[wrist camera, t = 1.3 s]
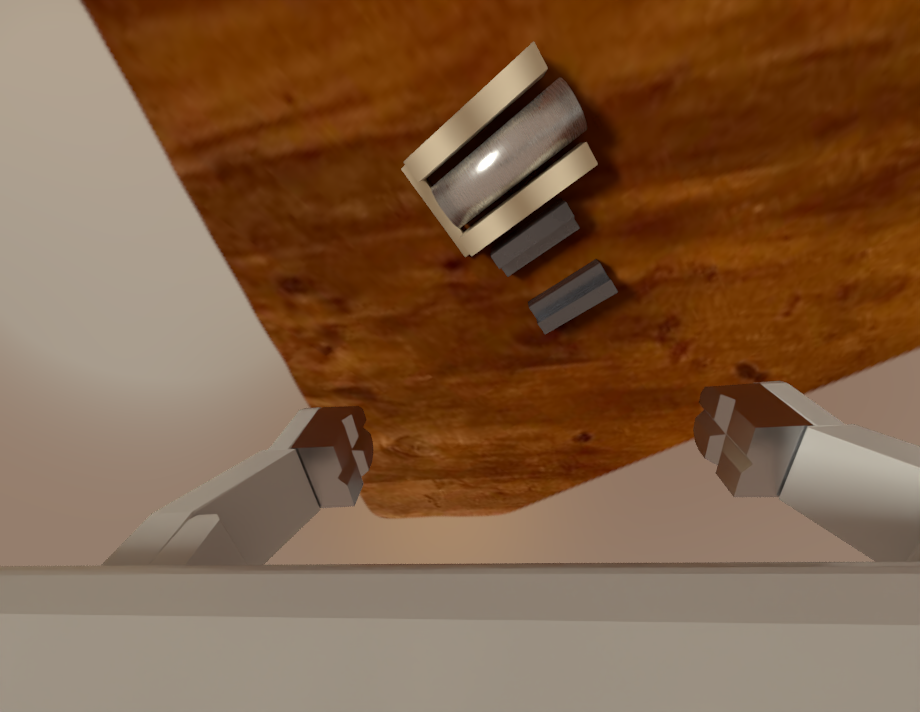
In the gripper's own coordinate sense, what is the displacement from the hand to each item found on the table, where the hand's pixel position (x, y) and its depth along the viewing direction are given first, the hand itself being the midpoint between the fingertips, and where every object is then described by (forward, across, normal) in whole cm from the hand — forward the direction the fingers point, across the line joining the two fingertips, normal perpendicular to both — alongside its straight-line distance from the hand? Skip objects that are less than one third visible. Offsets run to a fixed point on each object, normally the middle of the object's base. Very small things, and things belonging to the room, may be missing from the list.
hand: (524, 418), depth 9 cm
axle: (+28, -1, -6) cm, 29 cm away
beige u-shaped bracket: (+30, 0, -6) cm, 31 cm away
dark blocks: (+31, -5, +4) cm, 31 cm away
